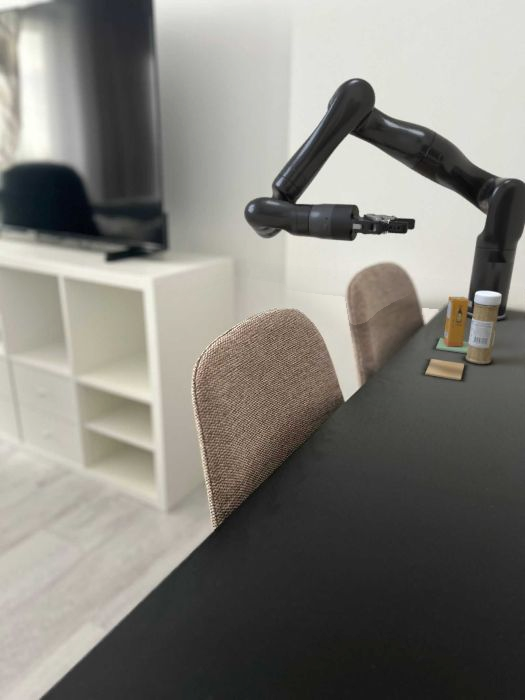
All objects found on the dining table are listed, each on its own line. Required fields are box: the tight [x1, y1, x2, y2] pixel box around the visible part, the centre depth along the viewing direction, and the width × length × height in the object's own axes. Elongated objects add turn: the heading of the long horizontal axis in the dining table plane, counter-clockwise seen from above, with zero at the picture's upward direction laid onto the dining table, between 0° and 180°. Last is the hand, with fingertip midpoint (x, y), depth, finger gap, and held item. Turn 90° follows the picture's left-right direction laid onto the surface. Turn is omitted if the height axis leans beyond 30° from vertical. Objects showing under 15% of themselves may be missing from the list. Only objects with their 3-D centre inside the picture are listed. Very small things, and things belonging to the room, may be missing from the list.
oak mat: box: [424, 358, 465, 381], centre depth 94 cm, size 8×6×1 cm
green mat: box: [435, 337, 469, 354], centre depth 107 cm, size 7×6×1 cm
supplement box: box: [443, 296, 469, 347], centre depth 105 cm, size 3×3×10 cm
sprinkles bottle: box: [465, 291, 502, 365], centre depth 97 cm, size 5×5×13 cm
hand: (411, 226), depth 103 cm, fingers open, 8 cm apart
